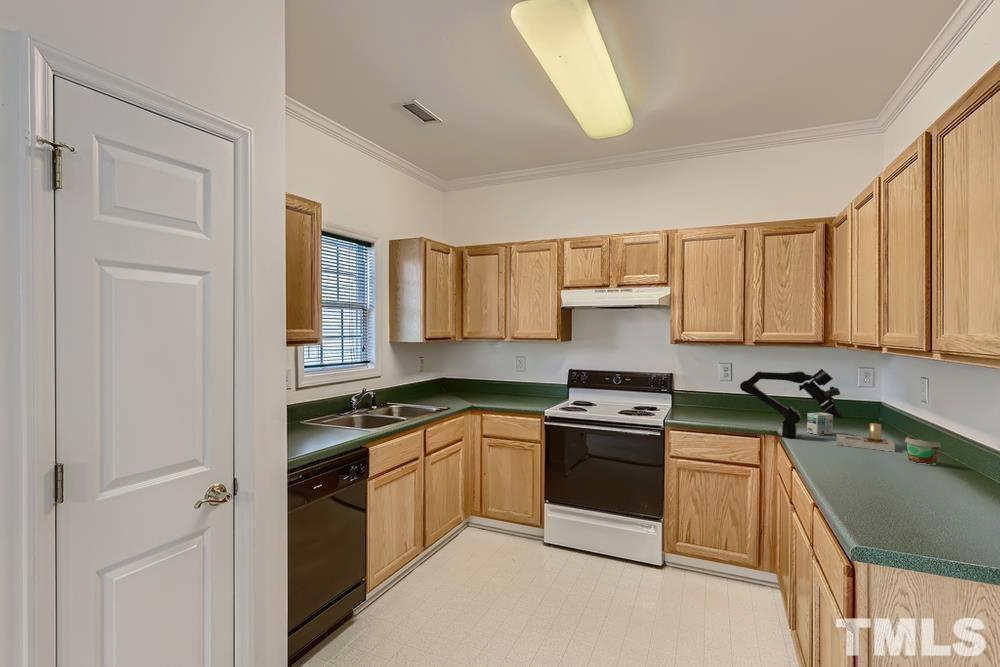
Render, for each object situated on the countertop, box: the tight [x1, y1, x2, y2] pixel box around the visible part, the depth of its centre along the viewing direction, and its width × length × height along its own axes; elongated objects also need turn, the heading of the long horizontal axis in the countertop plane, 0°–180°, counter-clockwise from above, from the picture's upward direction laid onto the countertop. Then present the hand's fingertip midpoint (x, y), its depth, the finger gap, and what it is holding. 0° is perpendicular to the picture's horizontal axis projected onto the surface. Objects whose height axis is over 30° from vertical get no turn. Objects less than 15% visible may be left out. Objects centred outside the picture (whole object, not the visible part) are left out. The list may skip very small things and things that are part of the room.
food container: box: [904, 435, 942, 464], centre depth 210 cm, size 12×6×10 cm, turn 21°
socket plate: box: [835, 433, 896, 453], centre depth 240 cm, size 22×14×3 cm, turn 57°
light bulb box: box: [806, 412, 834, 436], centre depth 266 cm, size 11×7×11 cm, turn 105°
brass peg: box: [868, 422, 882, 442], centre depth 237 cm, size 4×4×11 cm
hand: (841, 416), depth 245 cm, fingers open, 9 cm apart
